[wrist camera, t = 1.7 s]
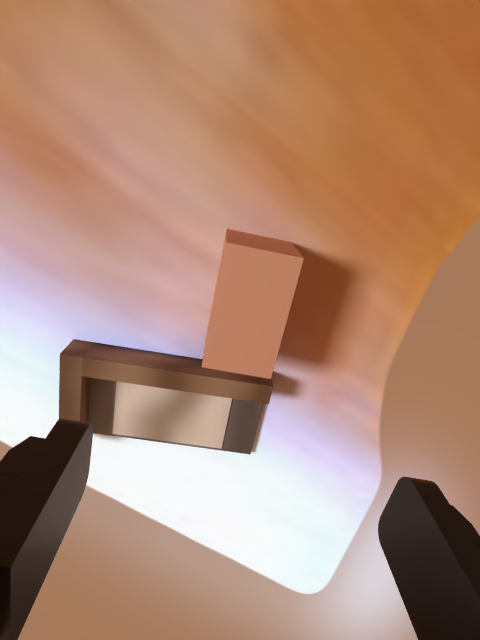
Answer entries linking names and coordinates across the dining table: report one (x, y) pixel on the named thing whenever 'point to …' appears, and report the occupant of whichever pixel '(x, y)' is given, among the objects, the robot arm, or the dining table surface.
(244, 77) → the dining table surface
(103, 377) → the tray
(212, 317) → the block
